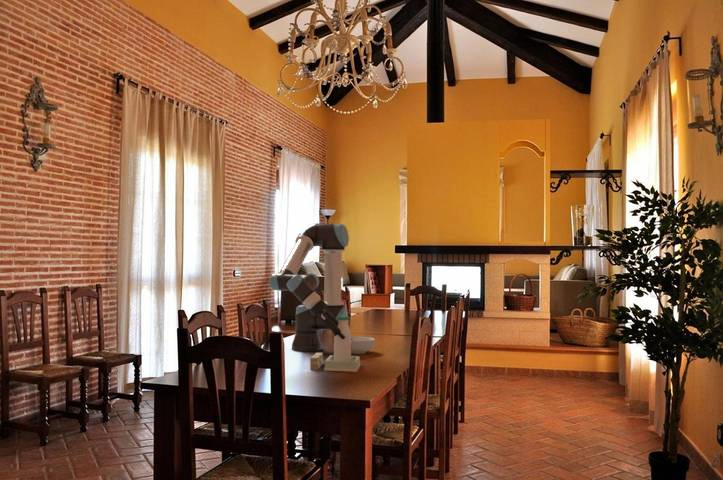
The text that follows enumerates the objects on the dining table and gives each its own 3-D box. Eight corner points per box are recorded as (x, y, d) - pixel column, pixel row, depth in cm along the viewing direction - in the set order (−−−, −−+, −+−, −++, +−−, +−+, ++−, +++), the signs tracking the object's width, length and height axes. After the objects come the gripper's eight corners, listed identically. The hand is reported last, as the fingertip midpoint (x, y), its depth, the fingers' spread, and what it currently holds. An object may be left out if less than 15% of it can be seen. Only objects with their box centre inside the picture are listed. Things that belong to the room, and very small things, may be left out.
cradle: (329, 364, 269) (329, 355, 269) (360, 365, 268) (360, 356, 268) (324, 370, 255) (324, 360, 255) (356, 371, 254) (356, 362, 254)
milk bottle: (349, 364, 257) (350, 317, 257) (331, 363, 259) (332, 316, 259) (353, 360, 265) (354, 315, 265) (336, 359, 266) (337, 314, 267)
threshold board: (316, 363, 270) (316, 352, 270) (322, 363, 270) (323, 352, 270) (310, 369, 256) (310, 358, 256) (317, 370, 256) (317, 358, 256)
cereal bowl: (375, 350, 309) (376, 336, 309) (373, 356, 292) (373, 341, 292) (343, 349, 310) (343, 335, 310) (338, 354, 294) (338, 340, 294)
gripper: (313, 308, 274) (347, 344, 272) (304, 312, 254) (341, 352, 252) (325, 296, 273) (359, 333, 271) (317, 300, 253) (354, 340, 251)
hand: (350, 342), depth 261 cm, fingers closed on milk bottle, 7 cm apart
